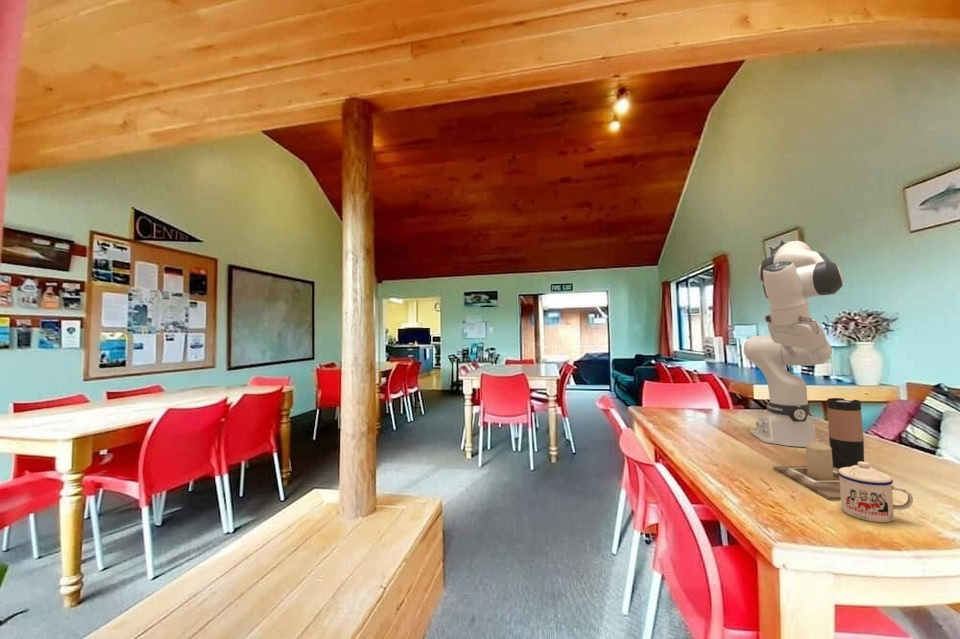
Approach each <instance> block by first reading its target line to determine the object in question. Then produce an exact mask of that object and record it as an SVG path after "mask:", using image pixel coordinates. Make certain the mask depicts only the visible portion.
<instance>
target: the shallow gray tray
mask: <svg viewBox="0 0 960 639" xmlns="http://www.w3.org/2000/svg"><path fill="white" fill-rule="evenodd" d="M772 468H773V471H776V472H778V473H780V474H781V475H783V476H784V477H787V478H789V479H790V480H792V481H794V482H795V483H798V484H800V485H801V486H803V487H805V488H806V489H808V490H810V491H812V492H813V493H815V494H817V495H819V496H821V497H823V498H824V499H826V500H828V501H841V494H840V479H839V475H838V471H836V470H834V469H833V480H827V481H820V480H815V479H812V478H810V477H808V474H807V465H800V466H799V465H797V466H796V465H795V466H792V465H791V466H785V465H783V466H779V465H778V466H776V465H775V466H774V465H773V466H772Z"/></svg>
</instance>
